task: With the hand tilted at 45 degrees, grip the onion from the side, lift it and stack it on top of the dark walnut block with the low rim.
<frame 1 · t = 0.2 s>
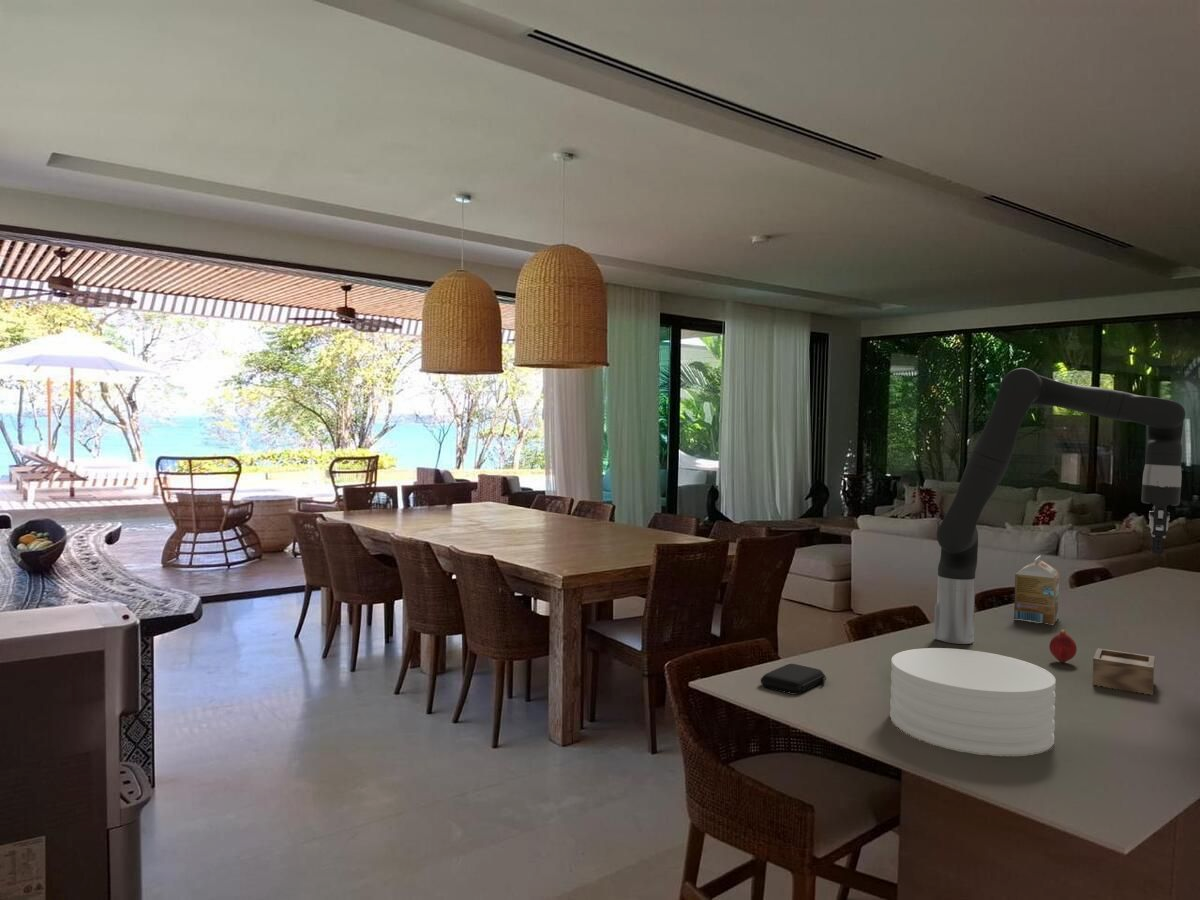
hand: (1156, 552, 189), 28 cm above the table, tool pointing down, fingers open, 8 cm apart
walnut block: (1123, 684, 179), on the table
milk carton: (1036, 620, 242), on the table
carrying case or bag: (795, 686, 175), on the table
plate stack: (968, 729, 150), on the table
onion: (1062, 663, 195), on the table
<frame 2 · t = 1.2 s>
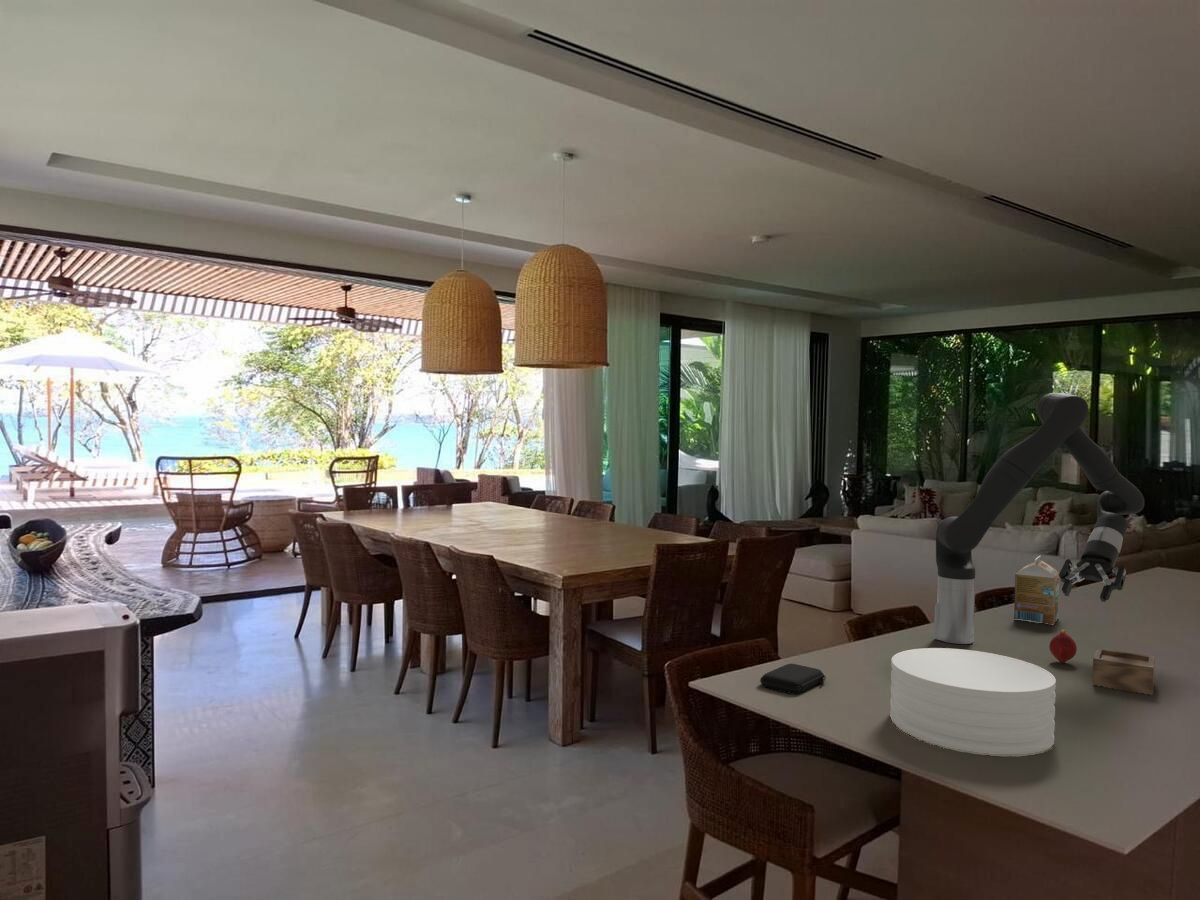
hand: (1083, 597, 202), 15 cm above the table, tool tilted 45°, fingers open, 8 cm apart
nothing on the table moved.
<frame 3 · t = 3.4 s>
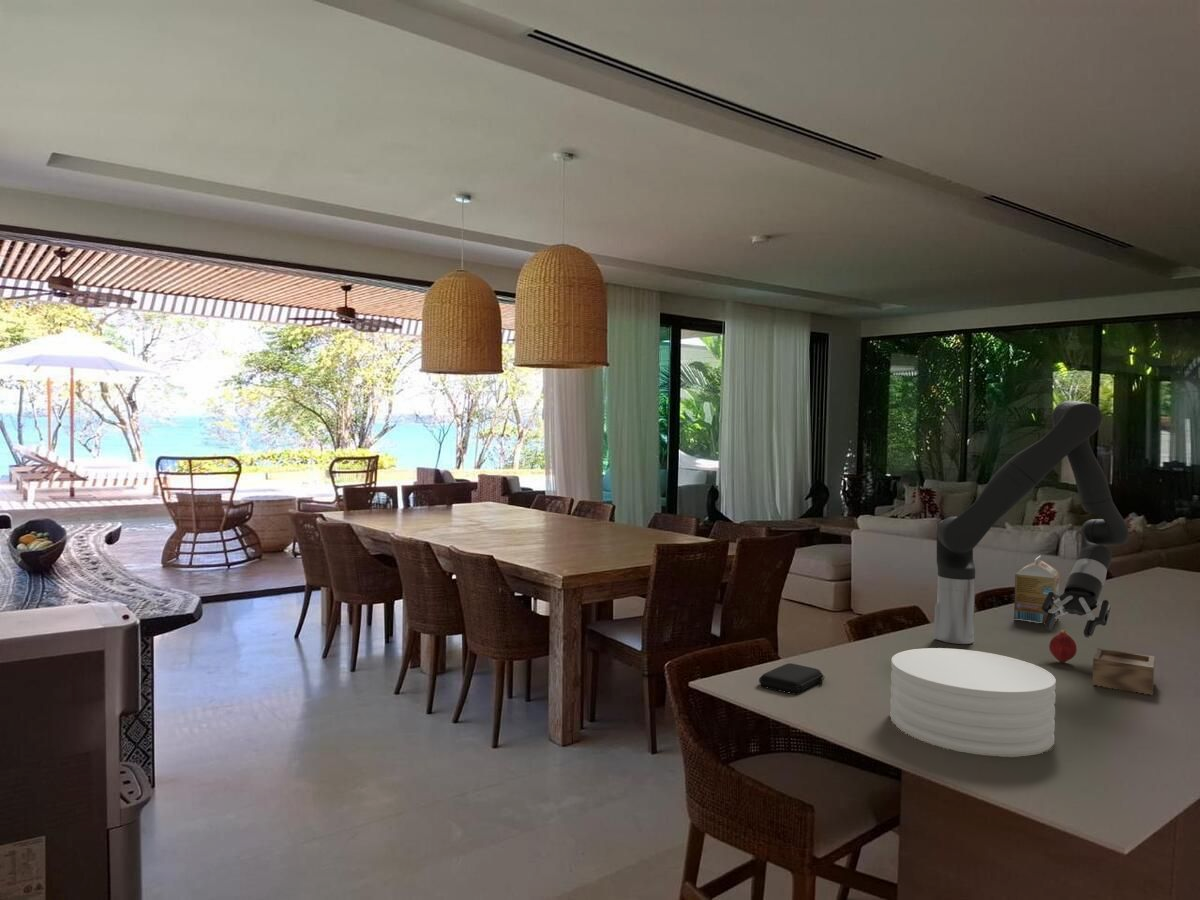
hand: (1066, 631, 196), 7 cm above the table, tool tilted 45°, fingers open, 8 cm apart
nothing on the table moved.
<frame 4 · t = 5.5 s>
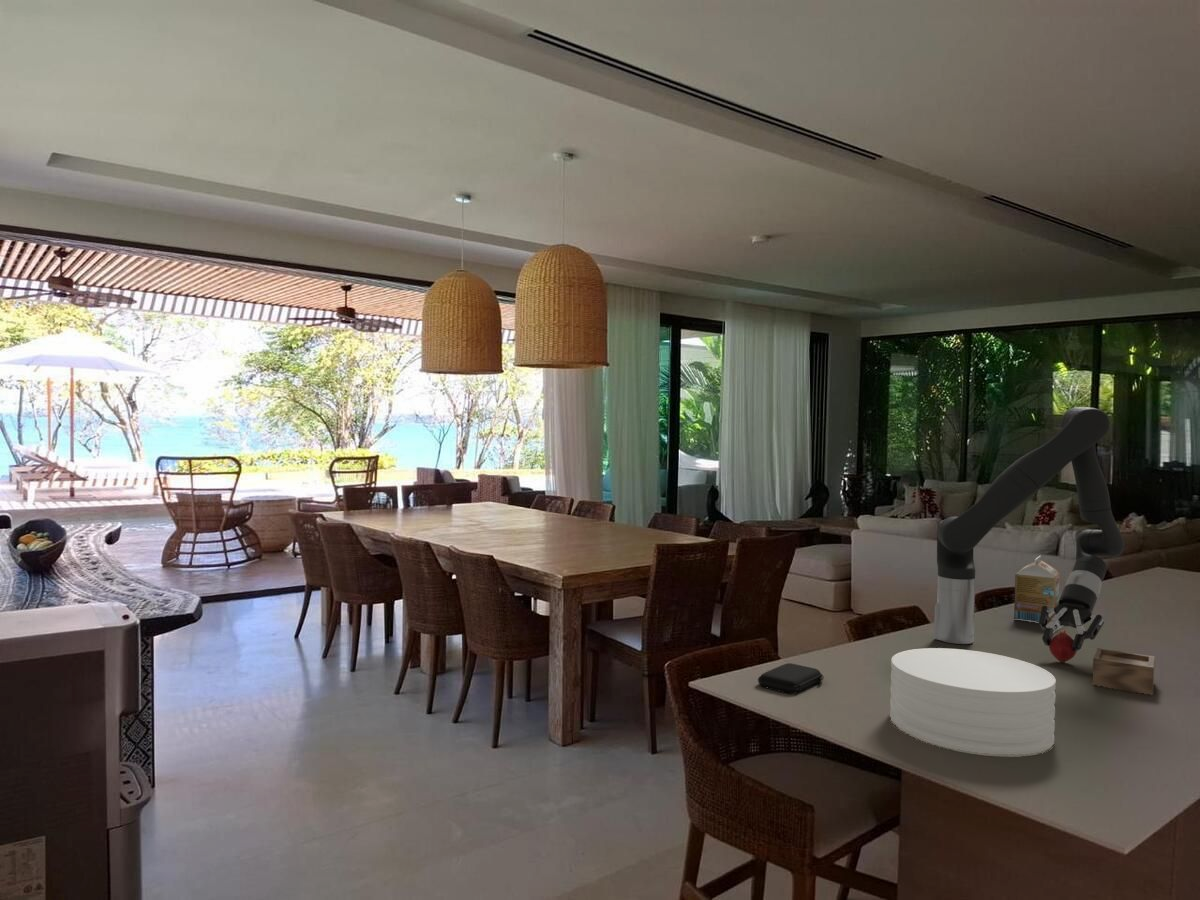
hand: (1060, 646, 194), 4 cm above the table, tool tilted 45°, fingers closed on onion, 5 cm apart
onion: (1062, 663, 195), on the table, touching gripper
everything else where it was.
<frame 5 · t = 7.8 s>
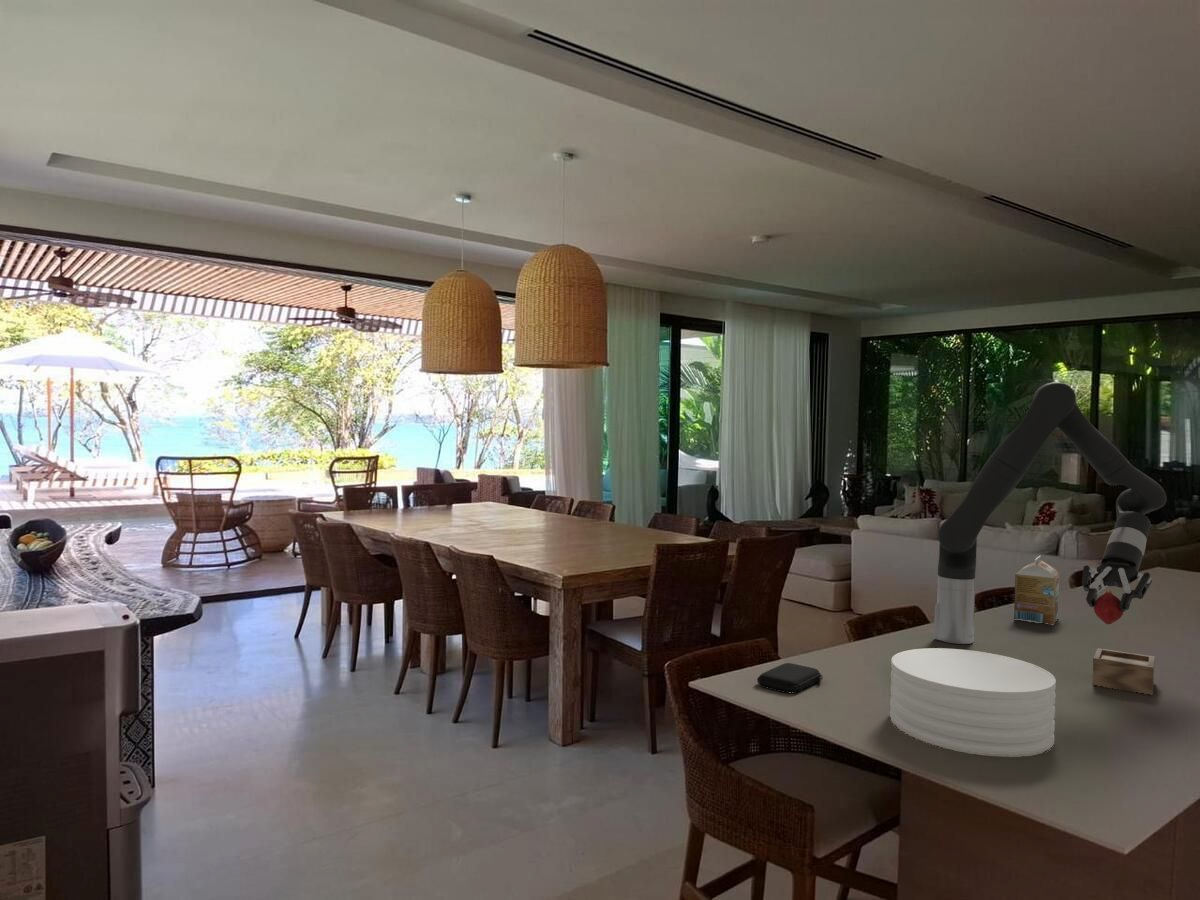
hand: (1106, 607, 183), 16 cm above the table, tool tilted 45°, fingers closed on onion, 5 cm apart
onion: (1108, 625, 184), point 12 cm above the table, touching gripper
everything else where it was.
when the fingers open (11 cm above the table, at t = 10.1 s): onion drops 1 cm, resting on walnut block.
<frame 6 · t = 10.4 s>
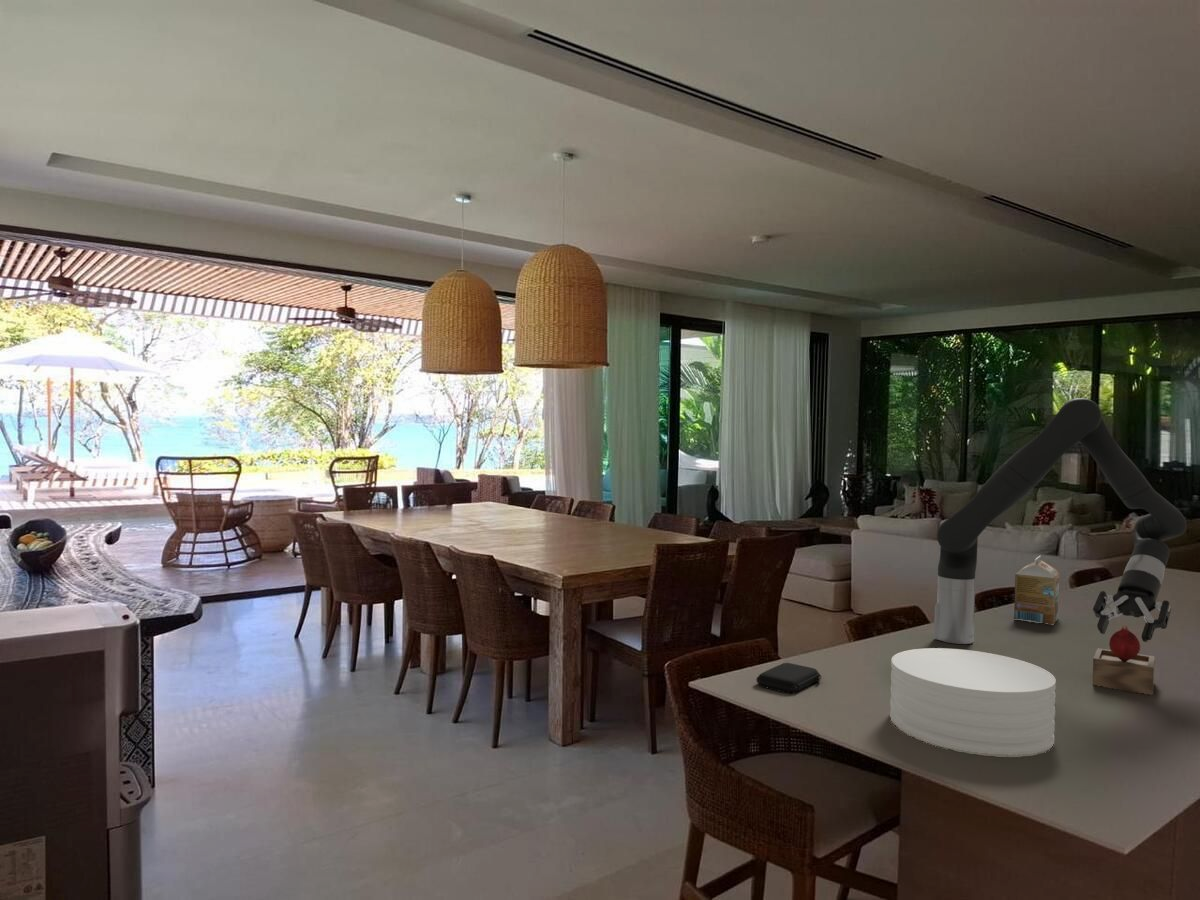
hand: (1122, 635, 178), 11 cm above the table, tool tilted 45°, fingers open, 8 cm apart
onion: (1124, 662, 179), point 5 cm above the table, touching walnut block
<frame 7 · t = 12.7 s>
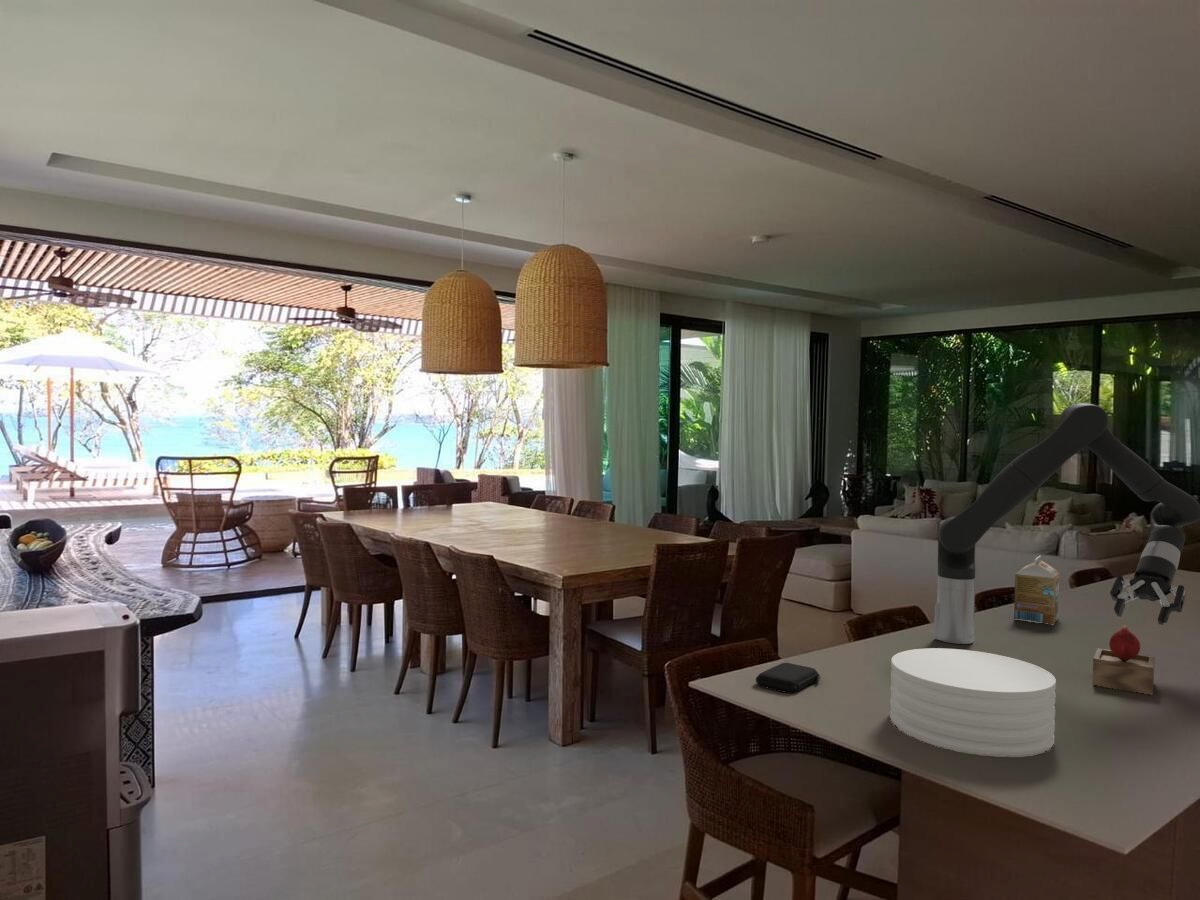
hand: (1138, 618, 187), 13 cm above the table, tool tilted 45°, fingers open, 8 cm apart
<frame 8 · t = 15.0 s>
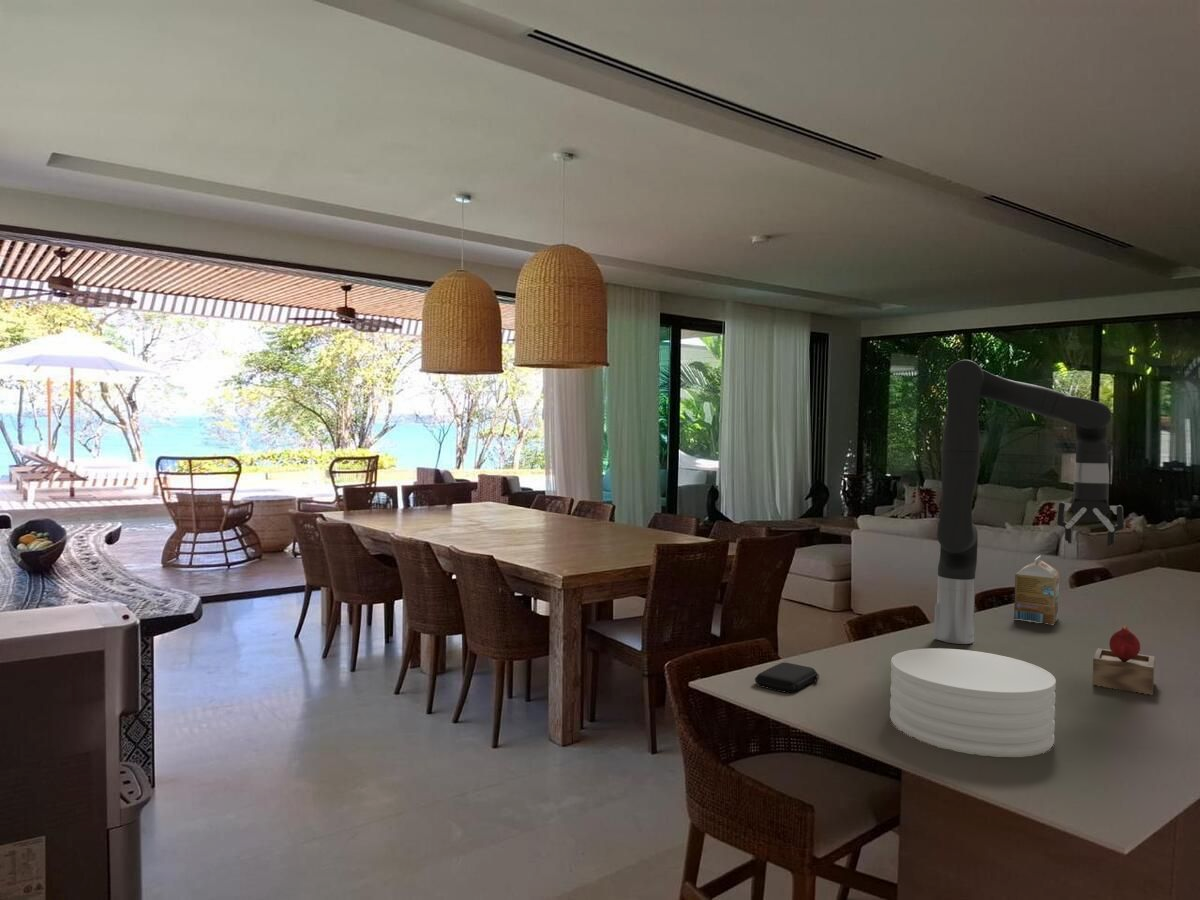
hand: (1089, 544, 202), 28 cm above the table, tool pointing down, fingers open, 8 cm apart
at the end: onion inside the target area on the walnut block (0.2 cm from its centre), point 4.8 cm above the walnut block's base; onion touching walnut block; the gripper is holding nothing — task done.
